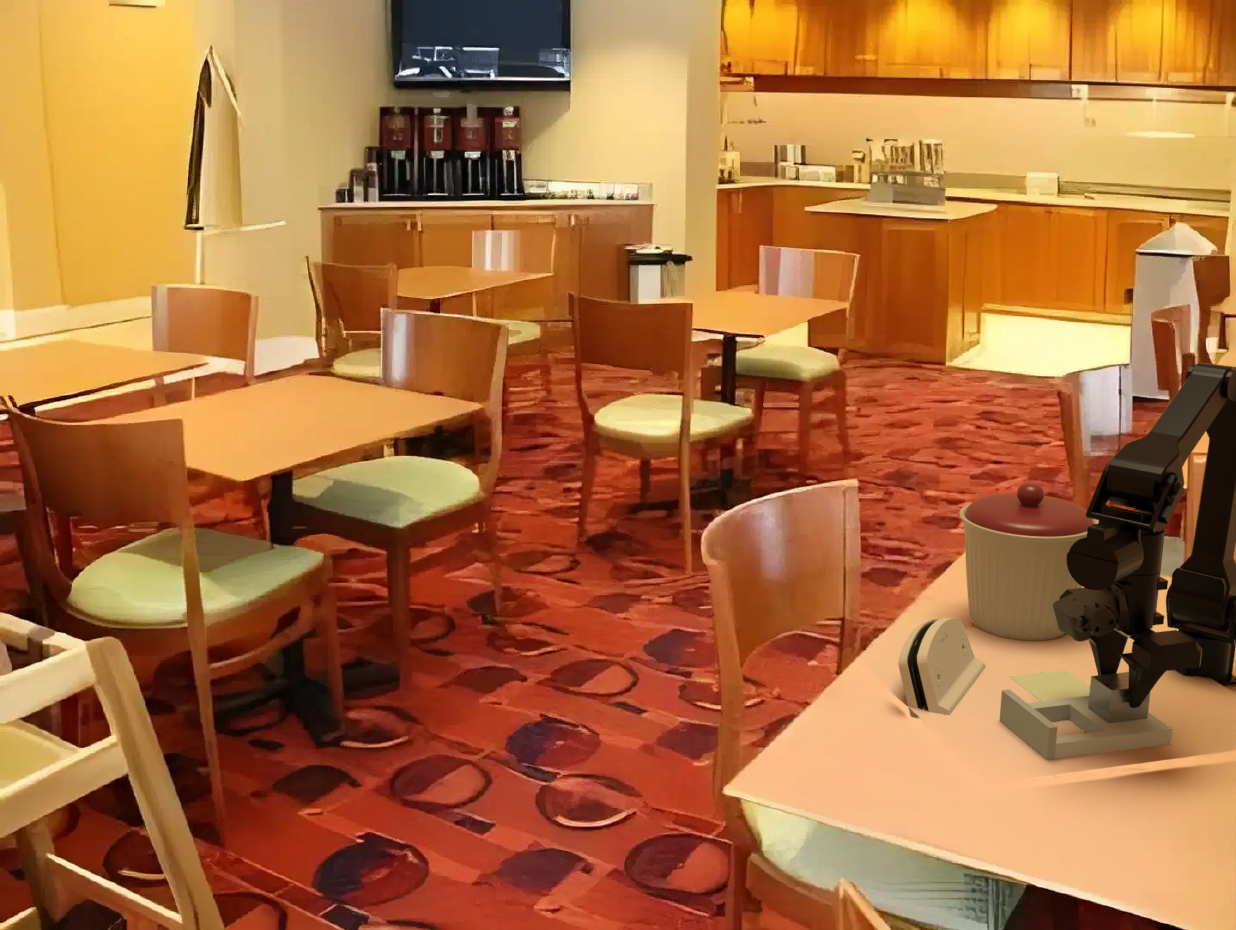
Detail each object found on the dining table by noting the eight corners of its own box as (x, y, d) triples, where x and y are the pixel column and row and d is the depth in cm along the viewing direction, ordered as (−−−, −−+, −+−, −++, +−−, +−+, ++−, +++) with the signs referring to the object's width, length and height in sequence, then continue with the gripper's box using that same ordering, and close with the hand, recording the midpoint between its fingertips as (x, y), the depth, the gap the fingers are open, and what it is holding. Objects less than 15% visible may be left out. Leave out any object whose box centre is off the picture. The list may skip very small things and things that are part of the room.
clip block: (1126, 703, 157) (1129, 671, 156) (1147, 718, 153) (1151, 685, 152) (1088, 708, 156) (1091, 676, 155) (1108, 723, 152) (1111, 690, 151)
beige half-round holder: (951, 726, 158) (928, 645, 157) (913, 730, 160) (890, 651, 160) (989, 675, 172) (967, 601, 171) (953, 680, 174) (932, 606, 174)
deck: (1116, 715, 161) (1120, 676, 159) (1169, 753, 151) (1174, 712, 150) (998, 730, 157) (1001, 690, 156) (1045, 770, 148) (1049, 728, 146)
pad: (1065, 678, 171) (1065, 669, 171) (1101, 705, 163) (1102, 695, 163) (1007, 685, 169) (1008, 676, 169) (1042, 712, 161) (1043, 703, 161)
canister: (968, 599, 198) (977, 460, 193) (1097, 619, 190) (1111, 475, 185) (938, 642, 182) (947, 492, 177) (1077, 666, 175) (1092, 510, 169)
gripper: (1023, 547, 157) (1013, 672, 161) (1118, 603, 139) (1105, 741, 143) (1108, 539, 159) (1096, 662, 163) (1212, 593, 142) (1196, 729, 146)
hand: (1119, 697), depth 154 cm, fingers open, 5 cm apart
